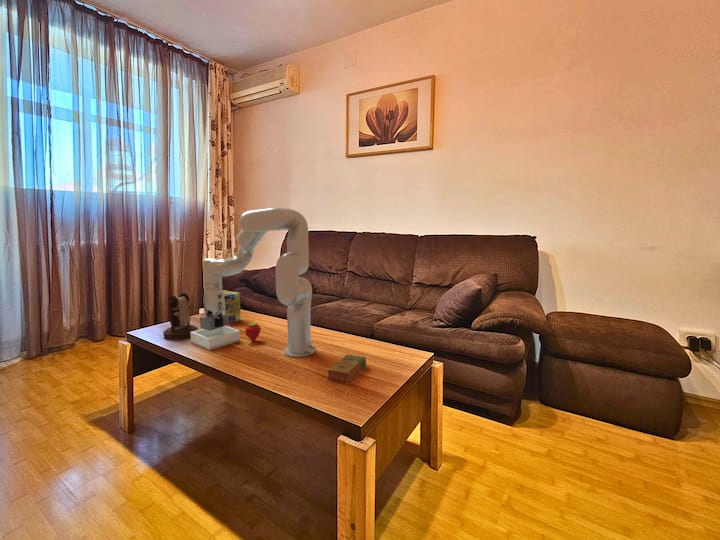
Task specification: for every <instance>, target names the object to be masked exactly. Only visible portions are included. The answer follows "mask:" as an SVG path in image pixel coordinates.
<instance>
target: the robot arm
mask: <svg viewBox="0 0 720 540" xmlns="http://www.w3.org/2000/svg"><path fill="white" fill-rule="evenodd" d="M238 223H239V227H240V229H241V230H240V231H239V232H238V234H237V235H236V237H235V241H236V243H237V244H238V246H239V248H238V250H237V252H236V253H235V254H234V255H233V256H232V257H228V258H227V257H226V258H222V259H220V258H218V257H208V258H204V259H203V260H202V274H203V275H202V277H203V290H204V291H203V308H204V312H205V313H204V314H205V316H207V315H210V314H212V313H213V312H215V314H216V327H221V326H223V317H224V313H225V299H224V293H223V278H225V277H229V276H233V275H237V274H240V273H242V272H243V271H244V270H245V268H247V266H249V263H251V260H252V259H253V256H254V250H255V248H256V246H257V245H258V244H259V242H260V241H261V240H262V238H263V237H264V236H265V234H266V233H267V232H272V231H285V230H286V231H288V234H287V238H286V247H287V248H286V253H284V254H281V256H279V257H278V258H277V260H276V263H275V292H276V297H277V300H278V301H279V302H280V304H282V305H284V306H286V307H287V310H286V312H287V313H286V314H287V316H286V317H287V318H286V319H287V320H286V322H287V324H286V325H287V346H286V347H285V348H284V349H283V353H284V355H285V356H288V357H290V358H303V357H308V356H311V355H312V354H314V353H315V351H316V350H317V346H313V342H312V340H311V337H312V336H311V335H312V334H311V326H312V325H311V308H312V307H311V305H312V304H311V303H312V298H313V296H312V295H313V287H312V284H311V282H310V281H309V279H307V278H305V277H301V275H303V274H304V273H306V272H307V271H308V269H309V267H310V266H309V265H310V259H309V256H310V255H309V254H310V253H309V252H310V251H309V225H308V221H307V220H306V218H305V217H304V215H303V214H301V213H300V212H299V211H296V210H295V209H291V208H281V207H270V208H263V209H255V210H248V211H246V212H244V213H242V214H241V216H240V218H239V222H238ZM217 310H220V311H217ZM218 313H219V315H218Z"/></svg>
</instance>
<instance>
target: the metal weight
mask: <svg viewBox="0 0 720 540" xmlns="http://www.w3.org/2000/svg"><path fill="white" fill-rule="evenodd" d="M218 315H219V313H218ZM199 323H200V325H199V327H200V330H201V329H205V330H209V331H211V330H214V329H217V328H221V327H224V326H229V325H230V323H229V314H225V313H224V317H223V326H221V327H216V314H215V313H214V314H210V315H207V316H206V315H203V316H200V317H199Z"/></svg>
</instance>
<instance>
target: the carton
mask: <svg viewBox="0 0 720 540" xmlns="http://www.w3.org/2000/svg"><path fill="white" fill-rule="evenodd" d="M366 367H367V358H366V357H365V356H358V355H354V354H353V355H352V354H351V355H350V354H346V355H344V357H342V358H340V360H339V361H338V362H336V363H335V364H334V365H333V366H331V367H330V368H329V369H328V370H327V381H330V380H331V382H335V381H336V382H335V383H340V382H342V384H345V383H348V384H347V385H349V383H350V382H351V381H352V380H353V379H354V378H355V377H358V375H360V374H361V373H362V371H364V370H365V369H366ZM354 380H355V379H354ZM354 380H353V381H354ZM353 381H352V382H353ZM352 382H351V383H352ZM351 383H350V384H351Z"/></svg>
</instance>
